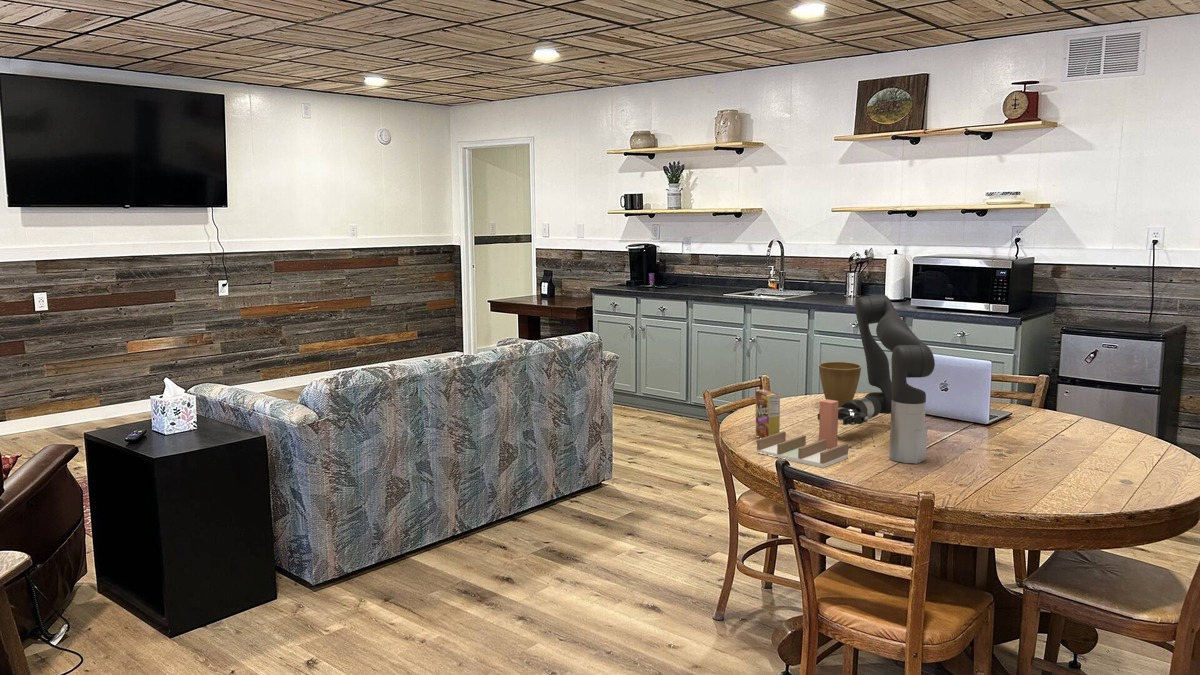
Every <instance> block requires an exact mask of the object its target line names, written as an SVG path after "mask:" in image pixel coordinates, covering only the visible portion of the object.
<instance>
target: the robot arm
mask: <svg viewBox="0 0 1200 675" xmlns="http://www.w3.org/2000/svg"><path fill="white" fill-rule="evenodd" d="M855 317H856V320H857V325H858V330H859V335H860V338H861V339H860V340H861V343H862V346H863V347H862V348H863V351H864V356H865V362H866V370H867V380H868V384H869V385H870V386H872V387H875V388H878V389H879V390H880V391H881V392H879V391H878V392H877V391H876V392H875V391H874V392H872V391H871V392H869V393H867V394H866V395H865V396H863V397H860V398H859V397H858V398H855V399H854V398H853V400H851V401H848V402H845V403H844V404H843V405H842V406H841V408H838V421H842V425H844V426H847V425H850V426H851V425H853V426H854V425H863V424H865V423H867V422H868V421H869V420H870V419H872V418H874V417H876V416H878V415H879V414H886V415H887V414H888V415H890V430H889V431H890V433H889V436H890V437H889V456H888V457H889V459H890V460H891V461H894V462H898V463H903V464H921V463H922V462H924V461H926V460H927V444H928V443H927V442H928V428H927V427H926V426H925V425H926V424H925V423H926V407H927V406H926V402H927V394H926V392H925V391H924V390H923V389H921V388H917V387H914V386H912V385H910V384H909V383H908V381H907V378H908V379H909V378H920V379H921V378H926V377H929V376H931V375H932V373H933V372H934V370H935V364H936V362H935V361H936V360H935V357H934V354H933V352H932V349H931V348H930V347H929V346H928V345H927V344H926V343H925V342H924V341H922V340H921V339H920V338H918V337H917V336H916V334H915V333H914V332H913V331H912V330H911V329H910V327H909V326H908V324H907V323H906V321H905V320H903V318H902V317H901V316H900V315H899V313H898V312H897V310H896V308H895V306H894V305H893V302H892V301H891V299H890V298H889V297H888V295H887V294H872V295H865V296H858V298H856V300H855ZM872 324H876V329H875V332H876V336H877V338H878V340H879V342H880V343H881V345H883V347H885V348H886V349H887V350H889V351H890V352H892V353H891V371H890V363H889V358H888V356H887V354H886V352H885V351H884V350H883V349H882V348H881V346H880V344H878V342H877V341H876V339H874V337H873V334H872V333H871V330H870V325H872ZM818 411H819V412H818V413H817V421H819V419H820V408H819V409H818Z"/></svg>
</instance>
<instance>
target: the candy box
mask: <svg viewBox="0 0 1200 675" xmlns="http://www.w3.org/2000/svg"><path fill="white" fill-rule="evenodd" d="M780 403H781V394H778V393H776V392H773V391H771V390H768V389H767V388H765V389H757V390H755V437H756V436H759V437H760V438H764V437H767V436H770V435H773V434H776V433H779V432H780V430H781V429H780V424H781V423H780V422H781V420H780V417H781V415H780V414H781V412H780V411H781V404H780ZM760 438H759V439H760Z"/></svg>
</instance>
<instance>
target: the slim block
mask: <svg viewBox="0 0 1200 675" xmlns="http://www.w3.org/2000/svg"><path fill="white" fill-rule="evenodd" d="M838 403H839V401H835V400H828V399H823V400H820V401H819V409H820V419H819V420H818V422H819V426H818V441H820V440H823V439H826V440H827V446H826V449H831V448H834V447H837V446H838V432H839V431H838V430H839V420H838Z"/></svg>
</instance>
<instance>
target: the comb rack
mask: <svg viewBox="0 0 1200 675" xmlns="http://www.w3.org/2000/svg"><path fill="white" fill-rule="evenodd" d="M786 432H787V431H784V430H783V431H779V433H776V434H773V435H770V436H767V437H764V438H761V439H760V438H758V439H756V453H757V452H762V453H766V454H770V455H773V456H777V457H778V458H777V459H780V458H785V459H787V460H786V461H789V460H790V462H794V463H799V464H802V465H803V464H804V465H809V466H813V467H818V468H821V469H824V468H827V467H828V466H831V465H833V464H837V463H838V462H841V461H843V460H846V459H848V458H849V443H842V444H840V445H837V446H836V447H833V448H828V449H827V448H826V446H827V440H826V439H823V440H820V441H819V440H817V441H814V442H812V443H809V444H807V443H806V442H807V437H806V436H807V435H804V434H802V435H799V436H796V437H793V438H791V439H788V440H786V435H787V434H786Z"/></svg>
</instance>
